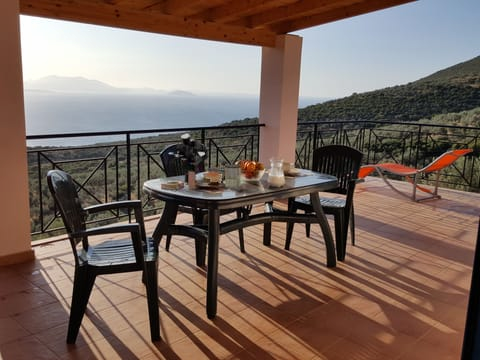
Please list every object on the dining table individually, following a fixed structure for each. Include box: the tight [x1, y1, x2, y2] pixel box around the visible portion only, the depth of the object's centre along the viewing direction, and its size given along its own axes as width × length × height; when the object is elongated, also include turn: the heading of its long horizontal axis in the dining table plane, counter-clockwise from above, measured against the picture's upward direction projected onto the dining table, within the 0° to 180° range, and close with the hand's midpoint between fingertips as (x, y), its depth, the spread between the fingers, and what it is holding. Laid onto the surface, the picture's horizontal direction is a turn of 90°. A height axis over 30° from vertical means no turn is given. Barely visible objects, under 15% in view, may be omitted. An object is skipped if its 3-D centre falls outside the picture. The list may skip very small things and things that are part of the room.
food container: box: [207, 166, 225, 185], centre depth 301 cm, size 12×6×10 cm, turn 71°
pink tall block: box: [187, 172, 196, 190], centre depth 282 cm, size 5×4×10 cm
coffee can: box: [224, 163, 242, 189], centre depth 289 cm, size 10×10×14 cm
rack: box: [160, 180, 185, 191], centre depth 283 cm, size 12×10×3 cm
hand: (176, 164), depth 282 cm, fingers open, 9 cm apart
